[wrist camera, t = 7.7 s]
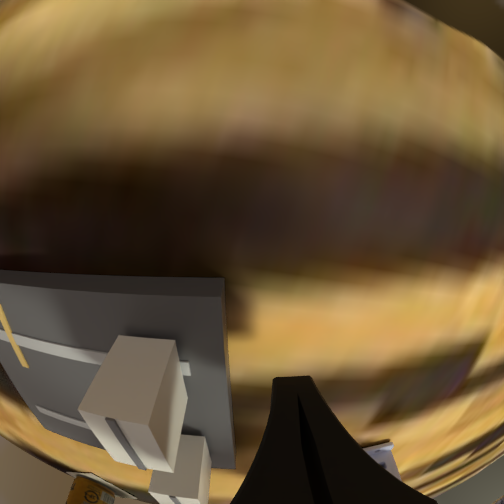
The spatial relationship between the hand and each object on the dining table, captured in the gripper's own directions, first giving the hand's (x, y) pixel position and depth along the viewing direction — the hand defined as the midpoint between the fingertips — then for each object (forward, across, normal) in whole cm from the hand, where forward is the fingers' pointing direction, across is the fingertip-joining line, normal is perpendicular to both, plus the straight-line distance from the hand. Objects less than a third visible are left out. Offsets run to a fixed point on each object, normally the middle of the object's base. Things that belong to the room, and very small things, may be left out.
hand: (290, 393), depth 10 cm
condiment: (+3, +22, +28) cm, 36 cm away
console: (+3, +10, +4) cm, 11 cm away
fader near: (+1, +6, 0) cm, 6 cm away
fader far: (+1, +5, +7) cm, 9 cm away
